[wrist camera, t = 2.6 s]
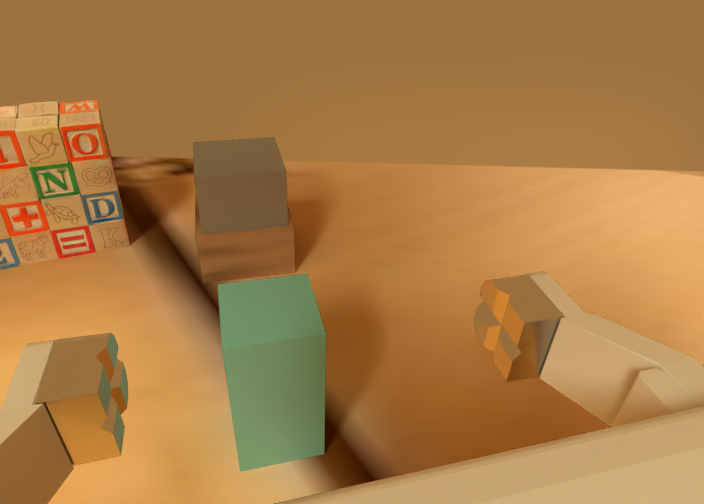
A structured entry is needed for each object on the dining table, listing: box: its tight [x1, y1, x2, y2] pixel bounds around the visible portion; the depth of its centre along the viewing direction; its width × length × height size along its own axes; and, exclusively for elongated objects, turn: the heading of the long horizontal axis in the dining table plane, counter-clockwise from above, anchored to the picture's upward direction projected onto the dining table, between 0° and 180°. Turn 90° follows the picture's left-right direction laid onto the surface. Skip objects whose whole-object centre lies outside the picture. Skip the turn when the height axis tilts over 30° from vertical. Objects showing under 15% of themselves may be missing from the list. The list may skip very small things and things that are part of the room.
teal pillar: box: [218, 274, 326, 471], centre depth 29 cm, size 5×5×10 cm
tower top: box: [193, 137, 288, 234], centre depth 44 cm, size 7×7×5 cm
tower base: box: [195, 195, 295, 283], centre depth 47 cm, size 8×8×5 cm
